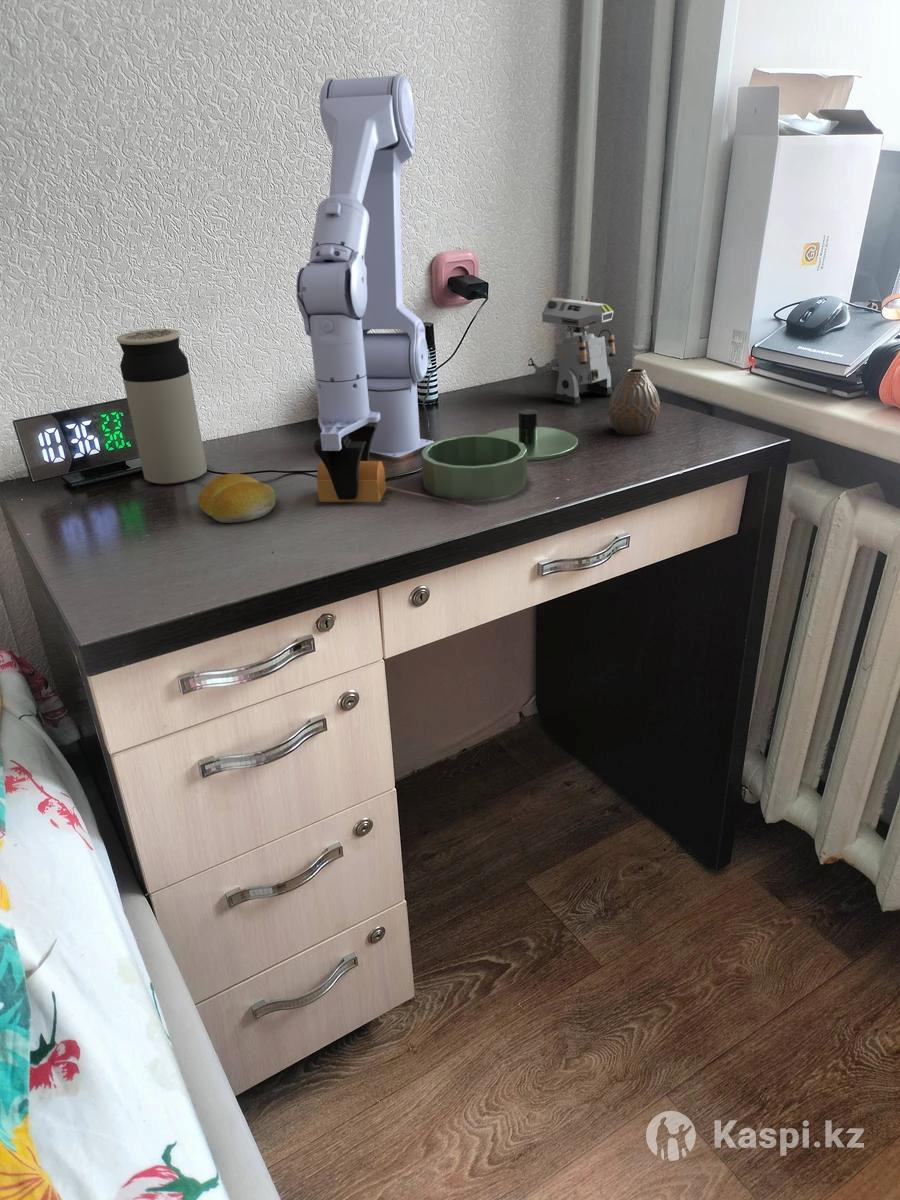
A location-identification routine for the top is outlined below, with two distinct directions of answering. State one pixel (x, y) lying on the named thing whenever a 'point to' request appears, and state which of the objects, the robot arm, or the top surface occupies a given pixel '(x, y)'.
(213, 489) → the bread roll
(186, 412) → the travel mug
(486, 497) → the pot
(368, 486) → the loaf
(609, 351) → the figurine
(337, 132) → the robot arm
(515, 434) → the lid
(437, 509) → the top surface
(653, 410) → the vase
